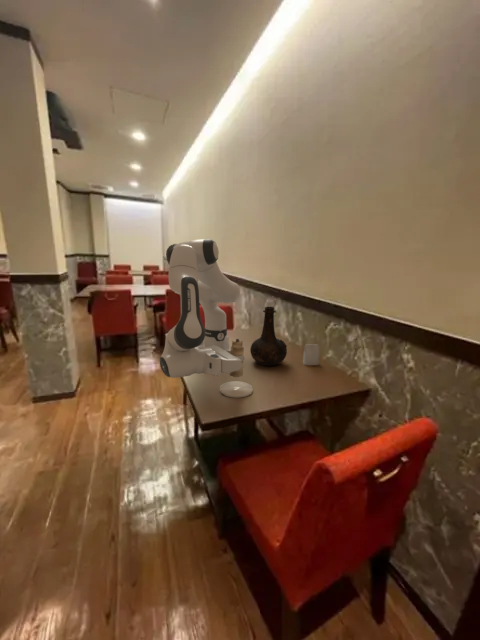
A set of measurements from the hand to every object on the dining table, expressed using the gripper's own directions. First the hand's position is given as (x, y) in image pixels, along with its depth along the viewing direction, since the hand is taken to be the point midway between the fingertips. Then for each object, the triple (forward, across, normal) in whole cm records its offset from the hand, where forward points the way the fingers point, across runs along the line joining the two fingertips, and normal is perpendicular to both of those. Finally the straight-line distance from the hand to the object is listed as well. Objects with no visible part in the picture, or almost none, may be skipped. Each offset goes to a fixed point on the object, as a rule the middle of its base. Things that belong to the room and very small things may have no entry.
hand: (238, 354), depth 119 cm
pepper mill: (-1, 0, -8) cm, 8 cm away
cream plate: (-1, 0, -14) cm, 15 cm away
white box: (+47, -9, -14) cm, 50 cm away
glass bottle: (+29, -20, -15) cm, 38 cm away
